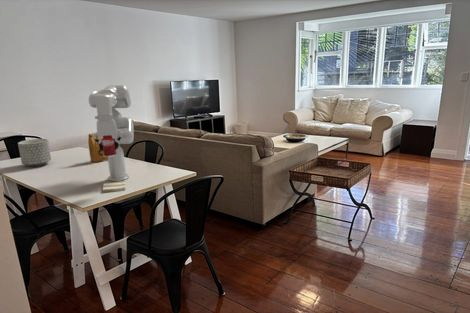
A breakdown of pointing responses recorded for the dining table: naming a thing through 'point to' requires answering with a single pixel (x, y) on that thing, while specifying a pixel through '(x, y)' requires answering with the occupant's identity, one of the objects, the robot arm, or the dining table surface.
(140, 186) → the dining table surface
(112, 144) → the soda can
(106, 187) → the birch board
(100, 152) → the coffee package
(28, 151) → the planter
